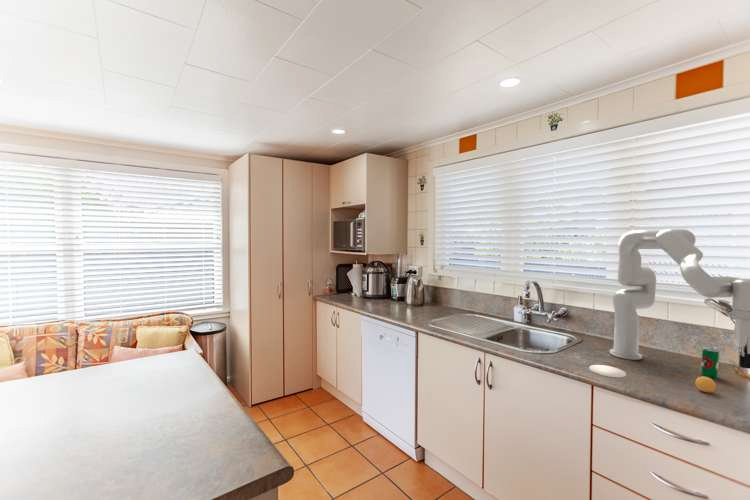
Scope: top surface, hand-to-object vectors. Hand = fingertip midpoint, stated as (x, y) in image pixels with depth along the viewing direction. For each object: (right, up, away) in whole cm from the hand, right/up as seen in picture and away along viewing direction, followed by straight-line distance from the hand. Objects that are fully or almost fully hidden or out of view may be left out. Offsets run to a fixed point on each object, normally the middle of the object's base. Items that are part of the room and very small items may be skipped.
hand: (746, 367), depth 120 cm
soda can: (+7, -11, +21) cm, 25 cm away
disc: (-31, -10, +26) cm, 42 cm away
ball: (-8, -9, +7) cm, 13 cm away
